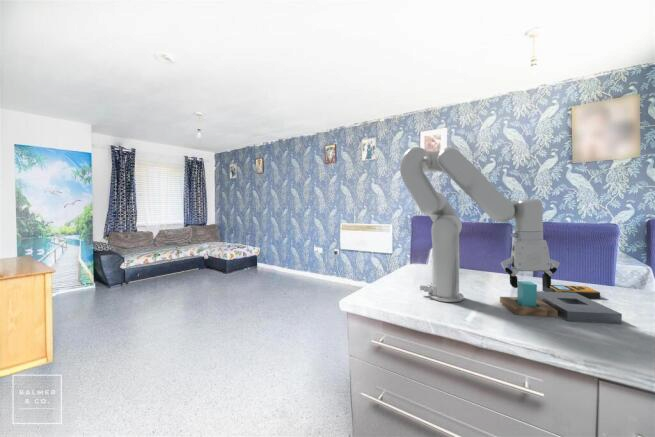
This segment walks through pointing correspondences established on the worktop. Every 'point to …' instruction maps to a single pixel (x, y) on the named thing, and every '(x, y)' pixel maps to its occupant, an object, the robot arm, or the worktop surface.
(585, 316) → the panel
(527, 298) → the plug
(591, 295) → the electronic device
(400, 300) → the worktop surface
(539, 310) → the wooden square tray
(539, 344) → the worktop surface
